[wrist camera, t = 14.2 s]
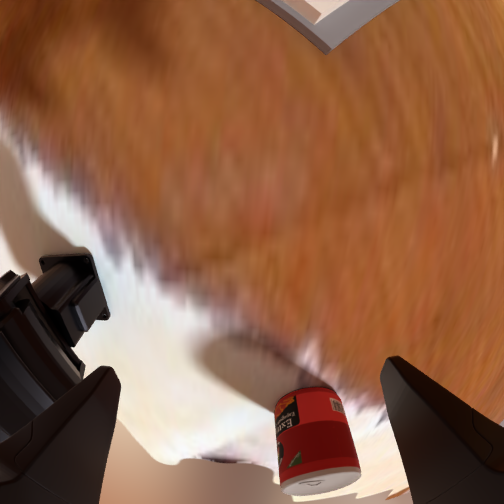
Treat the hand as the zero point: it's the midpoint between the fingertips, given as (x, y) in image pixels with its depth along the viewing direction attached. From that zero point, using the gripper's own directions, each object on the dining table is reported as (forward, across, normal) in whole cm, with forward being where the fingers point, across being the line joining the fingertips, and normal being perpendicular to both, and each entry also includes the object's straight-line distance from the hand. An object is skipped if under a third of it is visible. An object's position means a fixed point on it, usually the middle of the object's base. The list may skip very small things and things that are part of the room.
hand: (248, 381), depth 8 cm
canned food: (+13, -6, +21) cm, 26 cm away
